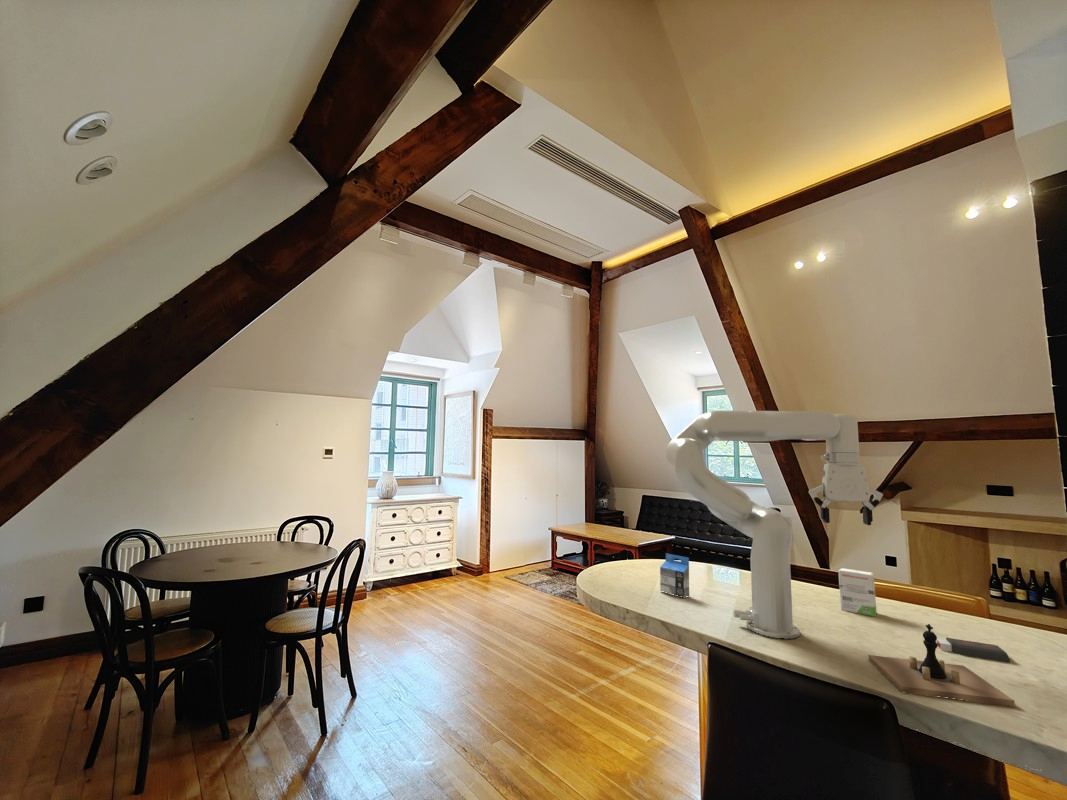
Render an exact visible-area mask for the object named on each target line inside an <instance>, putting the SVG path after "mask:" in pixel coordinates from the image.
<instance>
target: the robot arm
mask: <svg viewBox="0 0 1067 800" xmlns="http://www.w3.org/2000/svg"><path fill="white" fill-rule="evenodd" d="M858 426H859V425H858V418H857V417H856V416H855V415H854V414H851V413H850V414H849V413H836V414H834V413H832V412H829V411H825V410H824V411H823V410H784V411H783V410H781V411H780V410H711V411H708V412H703V413H702V414H700V415H698V416H697V417H696V418H695V419H694V420H692V421H691V422H690V424H688V425H687V426H686V427H685V428H684V429H682V430H681V432H679V433H678V434H677V435H676V436H675V437H674V438H673V439H671V441H669V443H668V444H667V446H666V448H665V457H666V460H667V461H668V462H669V464H671V465H672V466H674V470H675V474H676V478H677V481H678V483H679V485H680V486H681V487H682V489H684V491H686V493H687V494H688V495H691V496H692V497H693V498H694V499H696V500H698V501H699V502H701V503H702V504H703V505H704V506H706V507H707V509H708V511H710V513H711V514H712V515H714V516H715V517H716V518H718V519H719V520H721V521H723V522H724V523H726V524H727V525H729V526H731V527H732V528H734V529H735V530H737V531H739V532H740V533H742V534H744V535H745V536H747V537H749V538H751V539H752V544H751V549H750V579H751V580H750V582H751V583H750V584H751V606H749V607H748V608H749V609H745V610H739V609H733V617H734V618H737V619H739V620H740V621H745V622H746V627H747V628H748V629H749V630H750V631H751V630H752V631H751V632H753V631H754V632H753V633H755V632H756V633H755V634H758V633H759V634H758V635H761V636H764V635H765V637H768V636H769V637H770V638H773V637H774V639H780V638H784V640H788V639H789V638H790V639H796V638H798V637H800V635H801V631H800V630H801V629H800V628H799V627H798V626H796V625H795V624H794V623H793V601H792V600H793V598H792V580H791V579H792V575H791V574H792V573H791V546H792V541H793V540H792V539H793V528H792V525H791V521H790V520H789V519H788V517H786V515H785V514H783V513H782V512H780V511H778V510H777V509H774V508H770V507H765V506H762V505H759V504H758V503H756V502H754V501H752V500H751V498H750V496H749V495H748V494H747V493H746V492H745V491H743V490H742V489H740V488H739V487H736V486H734V485H732V484H731V483H729V482H727V481H726V480H724V479H723V478H722V477H719V476H718V475H716V474H715V473H714V472H712V471H711V470H710V469H709V468H708V466H707V465H706V462H705V450H706V449H707V448H708V447H709V446H710V445H711V444H712V443H713V442H716V441H719V442H721V441H722V442H725V441H726V442H774V441H782V440H783V441H784V440H802V441H825V448H826V452H825V454H821V455H820V460H823V461H825V462H826V464H825V463H824V465H823V470H822V471H823V472H822V478H821V479H822V480H821V483H822V484H820V485H818V486H816V487H814V488H811V489H809V490H808V494H809V495H810V497H811V499H812V500H813V502H815V504H816V505H818V506H819V508H820V519H821V520H822V521H823V523H825V524H829V523H830V522H831V521H830V508H829V507H828V506H829V505H830V504H831V502H839V503H860V504H861V505H862V506H863V507H864V508H862V509H861V510H862V522H863V524H864V525H867V526H872V522H873V521H874V520H873V518H874V517H873V511H874V509H875V508H876V507H877V506H878V505H879V504H880V501H881V500H882V498H883V497H884V494H883V493H882V492H880V491H878V490H876V489H874V488H872V487H870V486H869V481H868V475H867V471H866V467H865V465H864V464H860V463H861V461H860V459H861V458H860V444H859V443H860V442H859V440H860V439H859V427H858ZM820 492H821V493H822V497H823V498H822V499H821V498H819V497H818V495H817V494H818V493H820ZM871 495H873V498H872V499H871ZM870 499H871V500H870ZM769 637H768V638H769Z"/></svg>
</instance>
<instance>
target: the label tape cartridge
mask: <svg viewBox="0 0 1067 800" xmlns="http://www.w3.org/2000/svg"><path fill="white" fill-rule="evenodd" d="M676 559H677V560H676ZM689 559H690V558H689V557H687V556H681V555H676V554H671V553H667V552H665V561H664V562H663V563H662V565H661V566H660V567H659V570H660V571H659V583H660V584H659V585H660V587H659V589H660V591H664V592H667V593H671V594H674V595H678V596H682V597H686V596H689V597H690V560H689ZM679 560H680V561H679Z"/></svg>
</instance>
